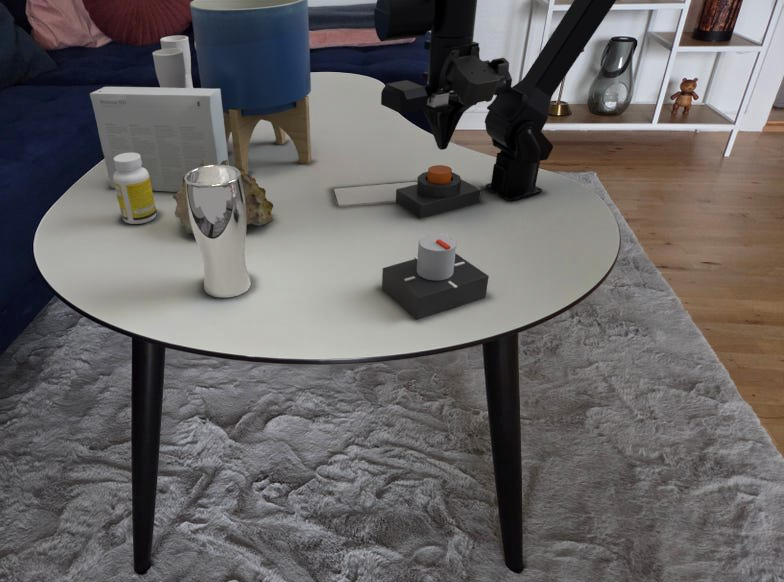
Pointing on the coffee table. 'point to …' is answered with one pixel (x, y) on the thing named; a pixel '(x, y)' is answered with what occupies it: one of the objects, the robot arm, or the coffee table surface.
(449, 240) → the timer knob
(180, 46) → the binoculars
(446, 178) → the button
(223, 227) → the beer glass
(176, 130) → the skincare box
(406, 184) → the smartphone
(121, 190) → the supplement bottle
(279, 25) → the planter
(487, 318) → the coffee table surface
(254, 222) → the seashell
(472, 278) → the timer panel
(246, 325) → the coffee table surface
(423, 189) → the button block
